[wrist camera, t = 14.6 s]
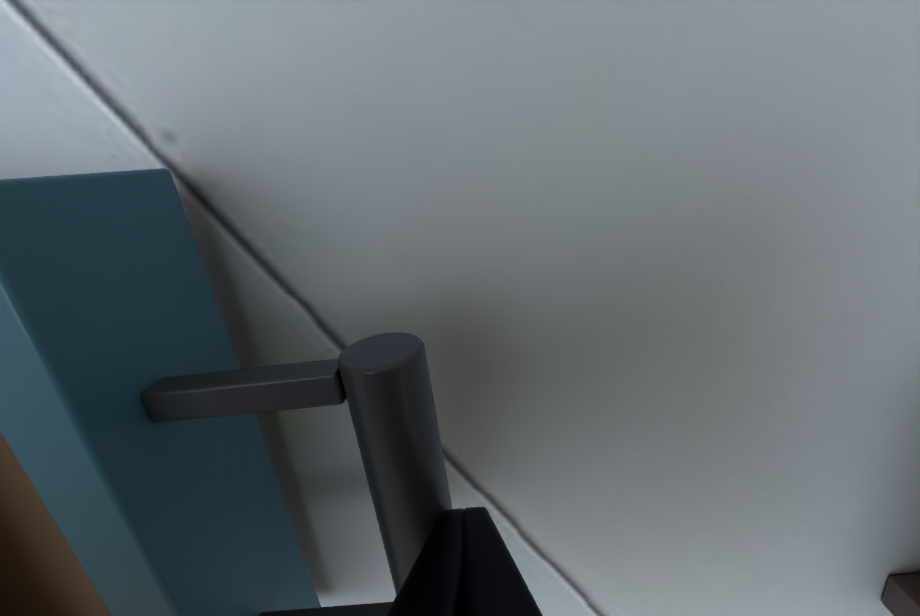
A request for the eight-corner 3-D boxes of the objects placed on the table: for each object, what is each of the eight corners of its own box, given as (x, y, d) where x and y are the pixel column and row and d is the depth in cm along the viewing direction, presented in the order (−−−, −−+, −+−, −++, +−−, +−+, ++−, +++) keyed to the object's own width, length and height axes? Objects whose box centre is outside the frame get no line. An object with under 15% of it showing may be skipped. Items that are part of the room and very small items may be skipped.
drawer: (409, 135, 8) (365, 125, 4) (483, 616, 13) (491, 799, 9) (-480, 256, 9) (-1085, 326, 6) (-109, 660, 14) (-310, 839, 10)
